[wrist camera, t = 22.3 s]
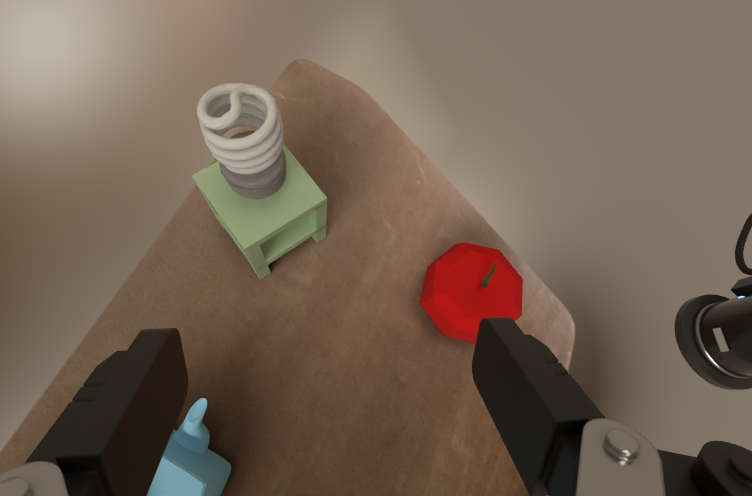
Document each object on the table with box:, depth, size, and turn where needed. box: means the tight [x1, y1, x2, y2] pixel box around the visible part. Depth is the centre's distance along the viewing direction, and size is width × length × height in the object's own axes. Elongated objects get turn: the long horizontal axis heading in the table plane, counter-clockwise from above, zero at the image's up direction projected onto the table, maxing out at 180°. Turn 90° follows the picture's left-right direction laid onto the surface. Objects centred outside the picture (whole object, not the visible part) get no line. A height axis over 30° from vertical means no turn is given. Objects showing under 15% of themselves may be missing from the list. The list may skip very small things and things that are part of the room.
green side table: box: [192, 143, 327, 280], centre depth 41 cm, size 9×9×10 cm
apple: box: [420, 243, 523, 344], centre depth 41 cm, size 11×11×10 cm
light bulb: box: [197, 83, 286, 199], centre depth 31 cm, size 6×6×12 cm
